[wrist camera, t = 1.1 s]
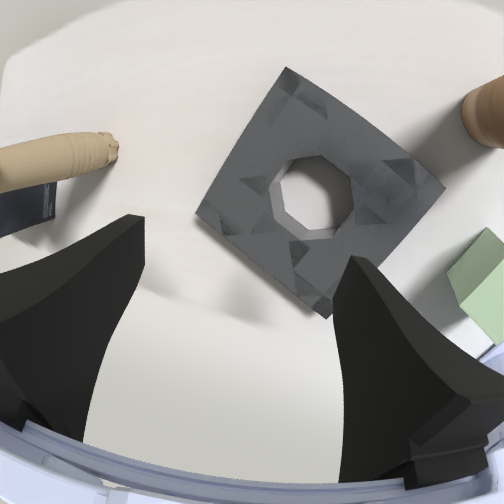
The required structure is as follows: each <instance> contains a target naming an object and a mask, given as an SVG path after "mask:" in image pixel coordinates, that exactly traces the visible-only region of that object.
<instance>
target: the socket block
mask: <svg viewBox="0 0 504 504" xmlns="http://www.w3.org/2000/svg"><path fill="white" fill-rule="evenodd" d="M318 155H322V156H323V157H324V158H326V159H327V160H328V161H330V162H331V163H332V164H333V165H335V166H336V167H337V168H339V169H340V170H341V171H342V172H344V173H345V174H346V175H348V176H349V177H350V182H351V189H352V197H353V205H354V209H353V210H352V212H351V213H350V214H349V215H348V217H347V218H346V219H345V220H344V222H343V223H342V224H341V225H340V226H339V228H331V229H318V230H308V229H306V228H305V227H304V226H303V225H302V224H300V223H299V222H298V221H296V220H295V219H294V218H293V217H291V216H290V215H289V214H288V213H286V212H285V209H284V203H283V197H282V191H281V186H280V181H281V179H282V178H283V177H284V175H285V174H286V172H287V171H288V169H289V168H290V167H291V165H292V164H293V162H294V161H295V159H297V158H304V157H311V156H318ZM445 189H446V187H444V186H443V185H442V184H441V183H440V182H439V181H438V180H437V179H436V178H435V177H434V176H433V175H432V174H431V173H430V172H428V171H427V170H426V169H425V168H424V167H423V166H422V165H421V164H420V163H418V162H417V161H416V160H415V159H414V158H413V157H412V156H410V155H409V154H408V153H407V152H406V151H404V150H403V149H402V148H401V147H400V146H399V145H397V144H396V143H395V142H394V141H392V140H391V139H390V138H389V137H387V136H386V135H385V134H384V133H382V132H381V131H380V130H379V129H377V128H376V127H375V126H373V125H372V124H371V123H369V122H368V121H367V120H365V119H364V118H363V117H361V116H360V115H359V114H357V113H356V112H355V111H353V110H352V109H350V108H349V107H348V106H346V105H345V104H343V103H342V102H341V101H339V100H338V99H336V98H335V97H333V96H332V95H330V94H329V93H327V92H326V91H324V90H323V89H321V88H320V87H318V86H317V85H315V84H313V83H312V82H310V81H309V80H307V79H306V78H304V77H302V76H301V75H299V74H297V73H296V72H294V71H292V70H291V69H289V68H287V67H285V68H284V70H283V71H282V73H281V74H280V76H279V77H278V79H277V80H276V82H275V83H274V85H273V86H272V88H271V89H270V91H269V92H268V94H267V95H266V97H265V98H264V100H263V102H262V103H261V105H260V106H259V108H258V109H257V111H256V112H255V114H254V116H253V117H252V119H251V120H250V122H249V123H248V125H247V127H246V128H245V130H244V131H243V133H242V135H241V136H240V138H239V140H238V141H237V143H236V144H235V146H234V148H233V149H232V151H231V153H230V154H229V156H228V158H227V159H226V161H225V163H224V164H223V166H222V168H221V169H220V171H219V173H218V174H217V176H216V178H215V179H214V181H213V183H212V185H211V186H210V188H209V190H208V192H207V193H206V195H205V197H204V199H203V200H202V202H201V204H200V206H199V207H198V209H197V211H196V214H197V215H198V216H199V217H200V218H202V219H203V220H204V221H205V222H207V223H208V224H209V225H210V226H211V227H213V228H214V229H215V230H216V231H218V232H219V233H220V234H221V235H222V236H224V237H225V238H226V239H227V240H229V241H230V242H231V243H232V244H234V245H235V246H236V247H237V248H238V249H240V250H241V251H242V252H243V253H245V254H246V255H247V256H248V257H249V258H251V259H252V260H253V261H254V262H256V263H257V264H258V265H259V266H261V267H262V268H263V269H264V270H265V271H267V272H268V273H269V274H270V275H272V276H273V277H274V278H275V279H277V280H278V281H279V282H280V283H281V284H283V285H284V286H285V287H286V288H288V289H289V290H290V291H291V292H293V293H294V294H295V295H296V296H297V297H299V298H300V299H301V300H302V301H304V302H305V303H306V304H307V305H309V306H310V307H311V308H312V309H314V310H315V311H316V312H317V313H318V314H320V315H321V316H322V317H323V318H325V319H327V318H328V317H329V316H330V315H331V314H332V313H333V303H332V298H333V296H334V294H335V291H336V289H337V287H338V284H339V282H340V280H341V277H342V275H343V273H344V270H345V268H346V266H347V263H348V261H349V258H350V256H351V255H354V256H359V257H364V258H367V259H368V260H369V261H370V262H371V263H373V265H374V266H375V267H376V268H378V267H379V265H380V264H381V263H382V262H383V261H384V260H385V259H386V258H387V257H388V256H389V255H390V254H391V252H392V251H393V250H394V249H395V248H396V247H397V246H398V245H399V244H400V242H401V241H402V240H403V239H404V238H405V237H406V236H407V235H408V233H409V232H410V231H411V230H412V229H413V228H414V226H415V225H416V224H417V223H418V222H419V221H420V219H421V218H422V217H423V216H424V215H425V214H426V212H427V211H428V210H429V209H430V208H431V206H432V205H433V204H434V203H435V202H436V200H437V199H438V198H439V197H440V195H441V194H442V193H443V192H444V190H445Z"/></svg>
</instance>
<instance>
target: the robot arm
mask: <svg viewBox="0 0 504 504" xmlns="http://www.w3.org/2000/svg"><path fill="white" fill-rule="evenodd" d="M144 266H145V217H143V216H137V215H131V214H128V215H125V216H123V217H121V218H119V219H117V220H116V221H114V222H112V223H110V224H108V225H107V226H105V227H103V228H101V229H100V230H98V231H96V232H94V233H92V234H91V235H89V236H87V237H85V238H83V239H81V240H80V241H78V242H76V243H74V244H72V245H70V246H68V247H66V248H64V249H62V250H60V251H58V252H56V253H54V254H52V255H50V256H47V257H45V258H43V259H40V260H38V261H35V262H33V263H30V264H27V265H24V266H22V267H19V268H16V269H13V270H10V271H7V272H4V273H0V498H1V499H3V500H4V501H6V502H8V503H9V504H504V340H503V341H502V342H501V343H500V344H498V345H497V346H495V347H494V348H492V349H491V350H490V351H489V352H488V353H487V354H485V355H484V356H483V357H482V358H481V359H480V360H476V359H475V358H473V357H472V356H470V355H469V354H467V353H466V352H464V351H463V350H462V349H460V348H459V347H458V346H456V345H455V344H454V343H452V342H451V341H450V340H449V339H447V338H446V337H445V336H444V335H442V334H441V333H440V332H439V331H438V330H437V329H436V328H434V327H433V326H432V325H431V324H430V323H429V322H428V321H427V320H426V319H425V318H423V317H422V316H421V315H420V314H419V313H418V312H417V311H416V310H415V309H414V308H413V306H412V305H411V304H410V303H409V302H408V301H407V300H406V299H405V298H404V297H403V296H402V295H401V294H400V293H399V292H398V291H397V289H396V288H395V287H394V286H393V285H392V284H391V283H390V282H389V281H388V280H387V278H386V277H385V276H384V275H383V274H382V273H381V272H380V271H379V270H378V269H377V268H376V267H375V266H374V265H373V263H371V262H370V261H369V260H368V259H367V258H364V257H359V256H354V255H351V256H350V258H349V261H348V263H347V266H346V268H345V270H344V273H343V275H342V277H341V280H340V282H339V284H338V287H337V289H336V291H335V294H334V296H333V298H332V303H333V324H334V330H335V336H336V342H337V347H338V353H339V358H340V365H341V370H342V379H343V393H344V428H343V429H344V430H343V446H342V458H341V467H340V474H339V481H338V483H333V484H332V483H331V484H330V483H329V484H298V483H273V482H259V481H248V480H239V479H230V478H223V477H216V476H209V475H203V474H197V473H191V472H186V471H181V470H175V469H171V468H167V467H162V466H157V465H154V464H149V463H146V462H142V461H138V460H134V459H131V458H127V457H124V456H120V455H117V454H114V453H111V452H107V451H104V450H101V449H98V448H95V447H93V446H89V445H87V444H84V443H83V437H84V431H85V426H86V420H87V415H88V410H89V406H90V402H91V398H92V394H93V390H94V386H95V383H96V380H97V376H98V372H99V369H100V366H101V363H102V360H103V357H104V354H105V351H106V348H107V345H108V343H109V341H110V338H111V336H112V334H113V332H114V330H115V328H116V326H117V324H118V322H119V320H120V318H121V316H122V315H123V313H124V310H125V309H126V307H127V305H128V303H129V301H130V299H131V297H132V295H133V293H134V291H135V289H136V287H137V285H138V282H139V280H140V277H141V274H142V271H143V269H144ZM95 476H96V477H95ZM97 477H99V478H102V479H105V480H108V481H111V482H114V483H117V484H121V485H124V486H127V487H131V488H125V487H116V488H112V487H108V486H104V485H103V482H102V481H101V479H99V478H97Z"/></svg>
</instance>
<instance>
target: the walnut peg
mask: <svg viewBox="0 0 504 504" xmlns="http://www.w3.org/2000/svg"><path fill="white" fill-rule="evenodd" d="M462 120H463V124H464V126H465V128H466V130H467V132H468V133H469V135H470V136H471V137H472V138H473V139H474V140H475V141H476V142H478V143H479V144H481V145H484V146H487V147H494V148H502V149H504V75H503V76H501V77H499V78H497V79H495V80H493V81H491V82H489V83H487V84H484V85H482V86H480V87H478V88H476V89H474V90H472V91H471V92H470V93H468V95H467V96H466V97H465V99H464V101H463V104H462Z"/></svg>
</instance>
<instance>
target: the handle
mask: <svg viewBox="0 0 504 504" xmlns="http://www.w3.org/2000/svg"><path fill="white" fill-rule="evenodd" d="M117 149H118V142H117V141H115V140H114V139H113V138H112V135H111V134H110V133H106V132H99V133H92V132H80V133H67V134H58V135H53V136H49V137H44V138H40V139H36V140H31V141H27V142H23V143H19V144H15V145H11V146H7V147H3V148H0V194H1V193H4V192H8V191H12V190H16V189H21V188H25V187H30V186H34V185H39V184H45V183H50V182H55V181H61V180H64V179H69V178H73V177H76V176H80V175H83V174H86V173H89V172H92V171H94V170H97V169H99V168H103V167H105V166H107V165H109V163H110V162H113V161H115V160H116V159H117V156H118V155H117Z"/></svg>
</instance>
